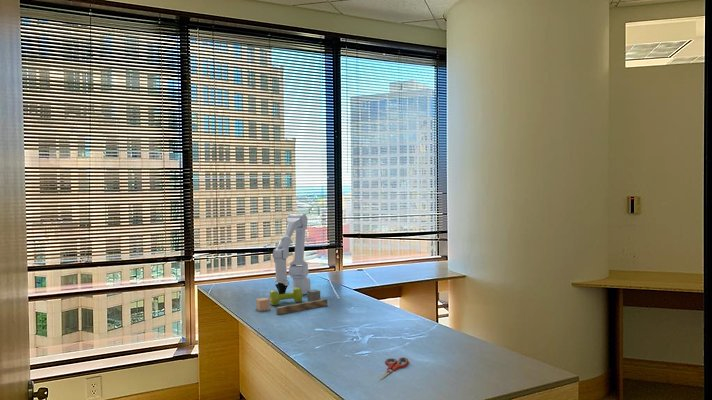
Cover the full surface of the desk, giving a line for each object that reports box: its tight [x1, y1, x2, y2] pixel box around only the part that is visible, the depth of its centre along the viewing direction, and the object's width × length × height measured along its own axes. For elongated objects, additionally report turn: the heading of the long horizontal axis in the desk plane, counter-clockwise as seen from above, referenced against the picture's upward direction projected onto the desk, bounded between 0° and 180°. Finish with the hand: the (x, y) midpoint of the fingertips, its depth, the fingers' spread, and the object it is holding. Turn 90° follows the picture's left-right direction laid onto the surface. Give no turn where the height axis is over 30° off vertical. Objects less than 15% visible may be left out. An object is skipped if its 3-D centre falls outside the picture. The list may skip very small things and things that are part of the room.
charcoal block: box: [306, 289, 322, 302], centre depth 255 cm, size 5×5×5 cm
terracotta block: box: [255, 297, 271, 312], centre depth 240 cm, size 5×5×5 cm
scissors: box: [377, 356, 409, 383], centre depth 153 cm, size 8×21×2 cm, turn 165°
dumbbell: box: [268, 287, 304, 307], centre depth 251 cm, size 16×8×7 cm, turn 114°
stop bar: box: [276, 298, 328, 316], centre depth 236 cm, size 26×2×3 cm, turn 123°
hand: (282, 297), depth 256 cm, fingers closed
